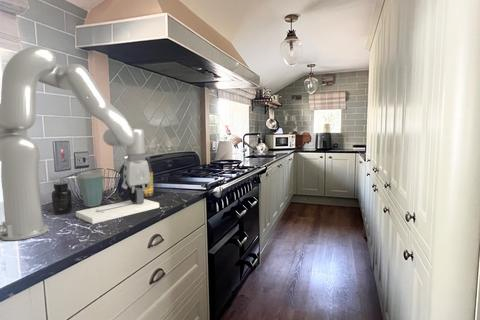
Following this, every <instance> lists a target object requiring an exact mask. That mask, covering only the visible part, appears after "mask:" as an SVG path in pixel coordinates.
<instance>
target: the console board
mask: <svg viewBox="0 0 480 320" xmlns="http://www.w3.org/2000/svg"><path fill="white" fill-rule="evenodd" d="M158 208H160V202H157V201H153V200H149V199H145V198H144V203H140V204H136V203H132V202H131V200H130V199H129V200H125V201H120V202H116V203H111V204H107V205H106V204H105V205H99V206H94V207H91V208H86V209H82V210H77V211H75V217H76V218H78V219H80V220H82V221H85V222H88V223H90V224H92V225H93V224H97V223H98V224H99V223H102V222H106V221H110V220H114V219H118V218H123V217H127V216H130V215H134V214H138V213H142V212H147V211H150V210H151V211H152V210H155V209H158Z"/></svg>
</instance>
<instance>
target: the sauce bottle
mask: <svg viewBox="0 0 480 320" xmlns="http://www.w3.org/2000/svg"><path fill="white" fill-rule="evenodd" d="M145 160H146V161H147V163H148V167H149V173H150V181H151V183H150V184H149V185H148V186H147V187H146V189H145V191H144V198H149V197H152V196H153V195H154V172H153V169H152V167H151V157H150V156H145Z"/></svg>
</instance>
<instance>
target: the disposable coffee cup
mask: <svg viewBox="0 0 480 320" xmlns="http://www.w3.org/2000/svg"><path fill="white" fill-rule="evenodd" d="M104 177H105V173H104V172H103V170H97V169H96V170H89V171H84V172H80V173H79V174H78V175H77V181H78V183H79V184H78V185H79V189H80V193H81V197H82V201H83V205H84V206H85V207H88V208H89V207H91V208H92V207H99V206H101V204H102V199H103V190H104V189H103V187H104Z"/></svg>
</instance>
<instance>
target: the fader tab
mask: <svg viewBox="0 0 480 320" xmlns="http://www.w3.org/2000/svg"><path fill="white" fill-rule="evenodd" d="M135 193H136V202H132V201H131V202H132V203H136V204H140V203H144V199H145V197H144V192H143V189H142V188H139V186H138V187H137V186H135Z"/></svg>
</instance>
